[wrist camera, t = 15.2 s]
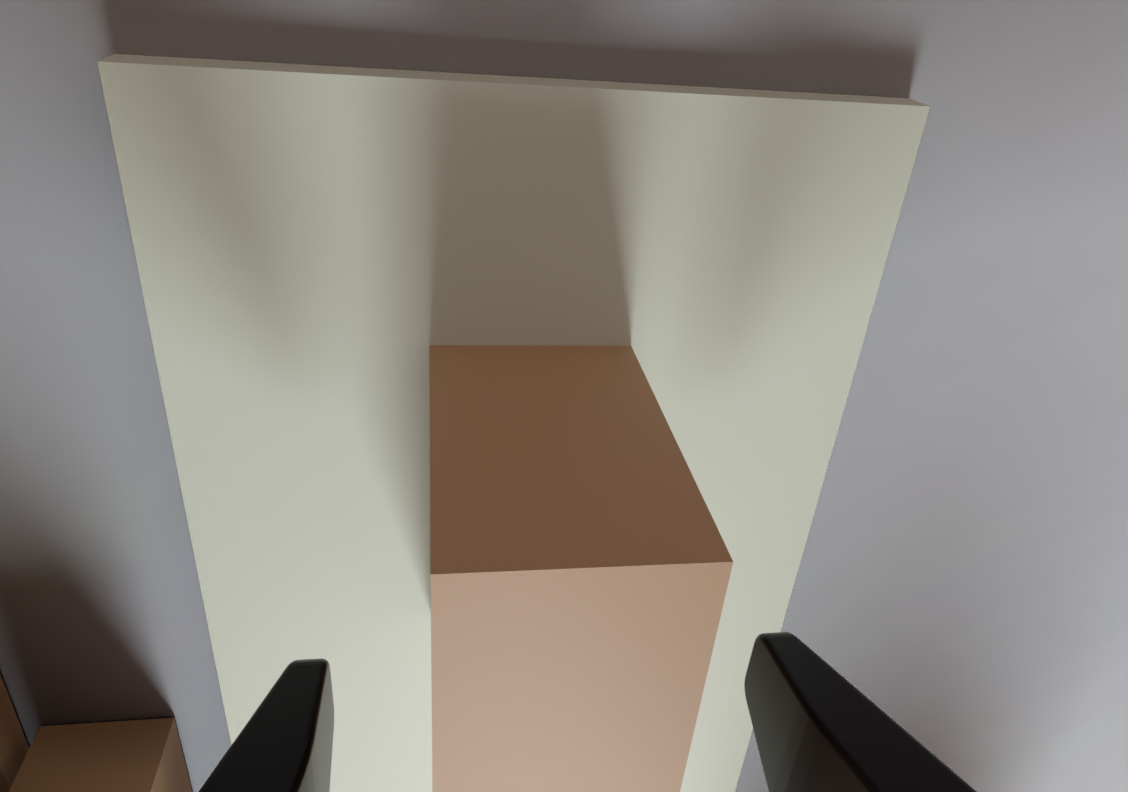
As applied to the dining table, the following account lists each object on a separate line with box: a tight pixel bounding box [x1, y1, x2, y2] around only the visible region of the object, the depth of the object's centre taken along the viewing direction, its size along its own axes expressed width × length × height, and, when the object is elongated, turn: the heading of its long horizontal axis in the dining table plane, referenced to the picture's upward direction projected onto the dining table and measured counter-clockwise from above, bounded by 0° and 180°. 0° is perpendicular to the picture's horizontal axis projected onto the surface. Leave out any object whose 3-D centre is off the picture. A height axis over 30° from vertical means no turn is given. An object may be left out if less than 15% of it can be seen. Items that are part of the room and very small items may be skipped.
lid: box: [97, 54, 930, 792], centre depth 12 cm, size 16×10×6 cm, turn 176°
